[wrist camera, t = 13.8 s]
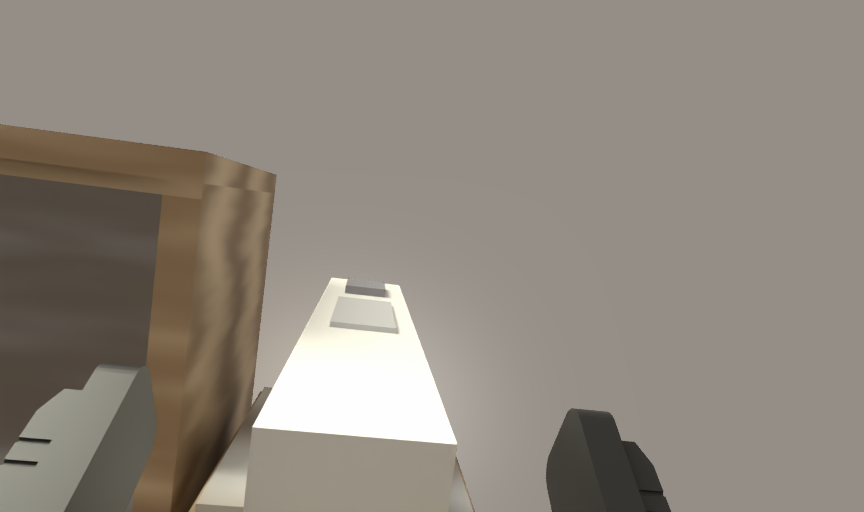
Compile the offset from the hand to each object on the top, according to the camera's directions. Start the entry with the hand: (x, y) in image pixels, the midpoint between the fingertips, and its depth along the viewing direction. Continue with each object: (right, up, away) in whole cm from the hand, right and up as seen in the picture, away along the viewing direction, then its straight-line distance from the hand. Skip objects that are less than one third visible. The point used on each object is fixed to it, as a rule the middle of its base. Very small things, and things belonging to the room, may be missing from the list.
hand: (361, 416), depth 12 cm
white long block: (-2, -4, +12) cm, 13 cm away
